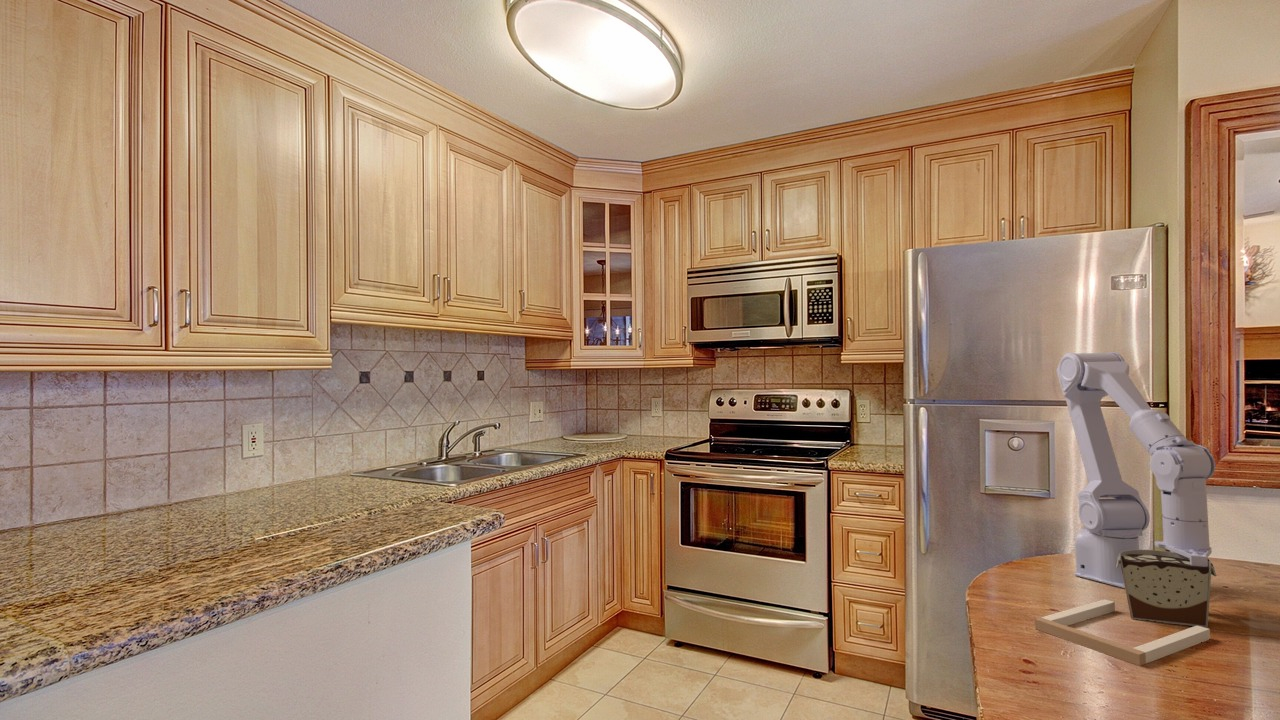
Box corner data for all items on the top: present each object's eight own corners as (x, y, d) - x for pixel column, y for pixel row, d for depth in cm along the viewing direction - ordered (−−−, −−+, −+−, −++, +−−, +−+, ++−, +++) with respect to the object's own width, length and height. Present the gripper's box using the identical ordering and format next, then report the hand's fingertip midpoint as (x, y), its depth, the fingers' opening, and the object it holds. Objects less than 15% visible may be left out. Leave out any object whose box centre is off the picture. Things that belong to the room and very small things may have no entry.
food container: (1204, 614, 98) (1200, 552, 99) (1220, 629, 93) (1215, 562, 93) (1110, 605, 104) (1106, 546, 104) (1120, 617, 98) (1116, 555, 99)
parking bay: (1035, 628, 95) (1034, 619, 95) (1105, 608, 102) (1104, 599, 103) (1139, 665, 82) (1139, 654, 82) (1210, 639, 90) (1209, 628, 90)
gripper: (1144, 508, 109) (1148, 584, 109) (1164, 525, 97) (1169, 611, 96) (1196, 511, 106) (1200, 590, 105) (1223, 529, 93) (1229, 619, 93)
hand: (1189, 601), depth 100 cm, fingers closed
